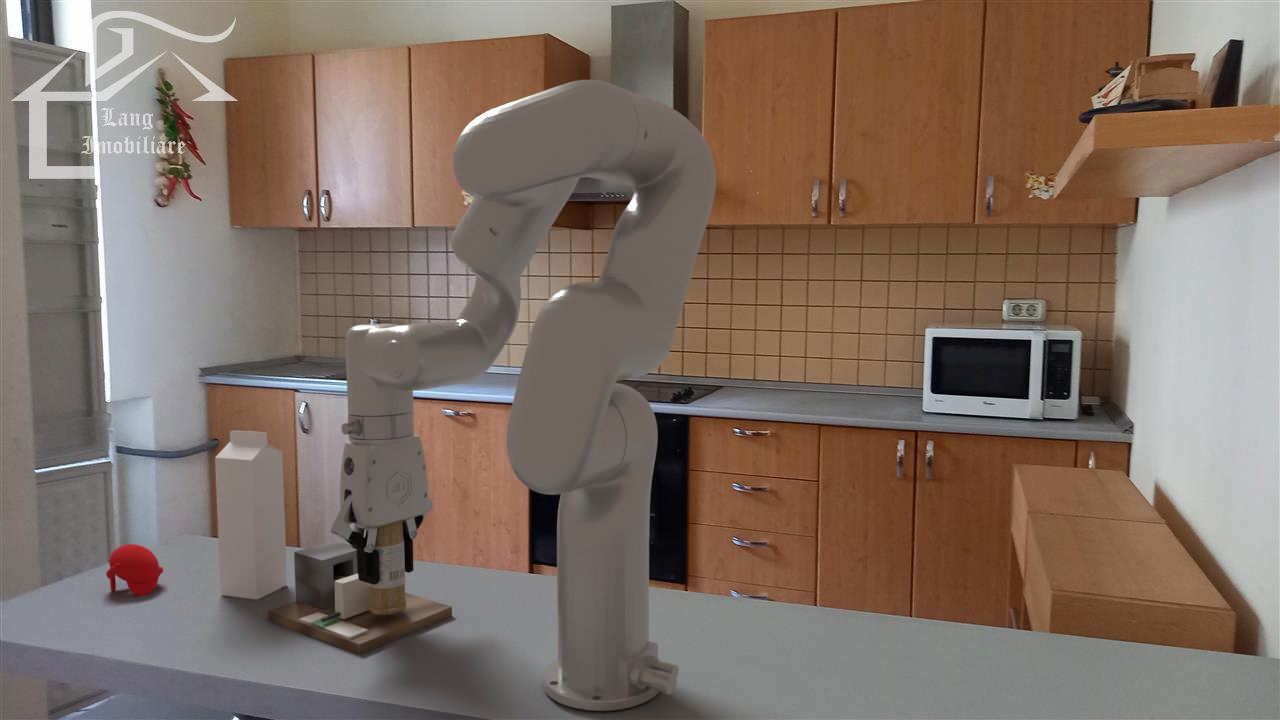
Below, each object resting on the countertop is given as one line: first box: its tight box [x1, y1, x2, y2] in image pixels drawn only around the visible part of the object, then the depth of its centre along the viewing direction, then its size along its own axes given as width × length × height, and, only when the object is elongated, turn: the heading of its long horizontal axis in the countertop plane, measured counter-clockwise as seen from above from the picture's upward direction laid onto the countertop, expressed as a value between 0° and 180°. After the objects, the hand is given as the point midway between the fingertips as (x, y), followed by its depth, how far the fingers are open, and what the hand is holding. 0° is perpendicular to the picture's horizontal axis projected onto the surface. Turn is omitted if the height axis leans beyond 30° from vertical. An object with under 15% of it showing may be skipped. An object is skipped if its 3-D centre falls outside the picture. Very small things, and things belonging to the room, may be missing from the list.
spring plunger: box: [321, 574, 369, 622], centre depth 108 cm, size 7×10×4 cm, turn 145°
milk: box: [214, 430, 288, 601], centre depth 118 cm, size 6×6×22 cm
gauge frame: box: [266, 540, 453, 656], centre depth 109 cm, size 18×14×8 cm
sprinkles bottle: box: [368, 521, 406, 615], centre depth 105 cm, size 5×5×13 cm
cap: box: [105, 543, 164, 597], centre depth 119 cm, size 8×6×6 cm
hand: (386, 574), depth 105 cm, fingers closed on sprinkles bottle, 4 cm apart
